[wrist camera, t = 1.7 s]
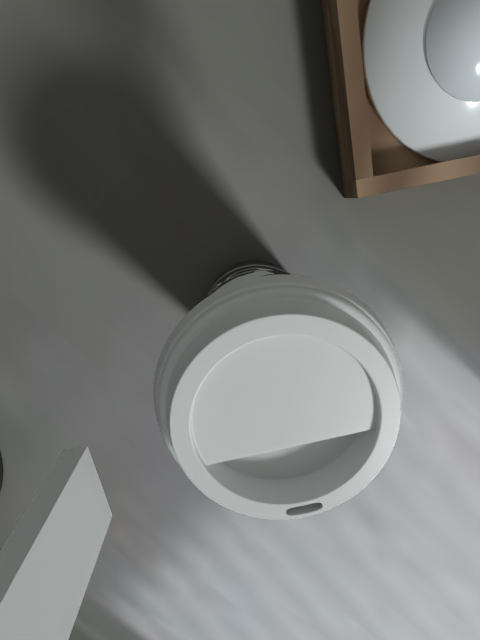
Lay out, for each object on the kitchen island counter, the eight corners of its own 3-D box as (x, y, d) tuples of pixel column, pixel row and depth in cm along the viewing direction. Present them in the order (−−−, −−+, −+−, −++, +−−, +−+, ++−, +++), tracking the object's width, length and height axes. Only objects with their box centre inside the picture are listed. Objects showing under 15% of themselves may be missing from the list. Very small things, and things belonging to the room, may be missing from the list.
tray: (344, 197, 26) (357, 198, 24) (313, -68, 22) (325, -104, 20) (593, 146, 26) (636, 140, 23) (609, -133, 22) (662, -179, 19)
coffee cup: (176, 361, 29) (130, 524, 15) (194, 225, 27) (160, 264, 12) (306, 380, 30) (383, 550, 16) (337, 250, 27) (464, 313, 13)
